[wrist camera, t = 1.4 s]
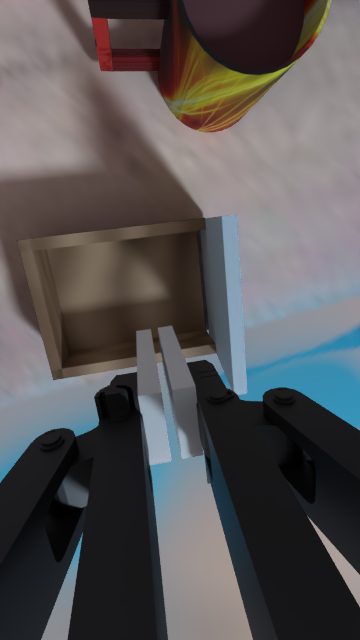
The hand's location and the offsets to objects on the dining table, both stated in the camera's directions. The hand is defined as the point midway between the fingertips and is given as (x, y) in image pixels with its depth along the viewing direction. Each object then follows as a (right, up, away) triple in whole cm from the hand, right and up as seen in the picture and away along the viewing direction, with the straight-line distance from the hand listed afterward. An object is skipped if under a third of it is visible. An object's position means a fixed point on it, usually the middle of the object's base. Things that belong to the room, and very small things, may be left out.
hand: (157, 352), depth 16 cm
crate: (-5, +5, +17) cm, 19 cm away
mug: (+2, +24, +13) cm, 27 cm away
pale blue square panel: (+5, +4, +12) cm, 13 cm away
